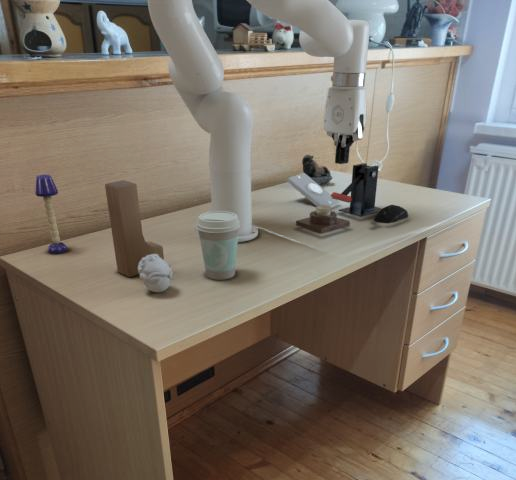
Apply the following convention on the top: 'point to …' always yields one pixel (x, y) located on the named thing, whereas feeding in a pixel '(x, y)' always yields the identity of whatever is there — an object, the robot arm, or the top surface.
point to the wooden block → (128, 227)
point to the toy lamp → (50, 210)
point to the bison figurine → (316, 170)
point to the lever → (349, 187)
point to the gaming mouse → (391, 214)
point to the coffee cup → (219, 243)
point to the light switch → (311, 190)
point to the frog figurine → (155, 273)
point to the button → (323, 210)
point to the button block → (322, 223)
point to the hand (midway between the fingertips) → (341, 162)
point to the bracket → (363, 192)
